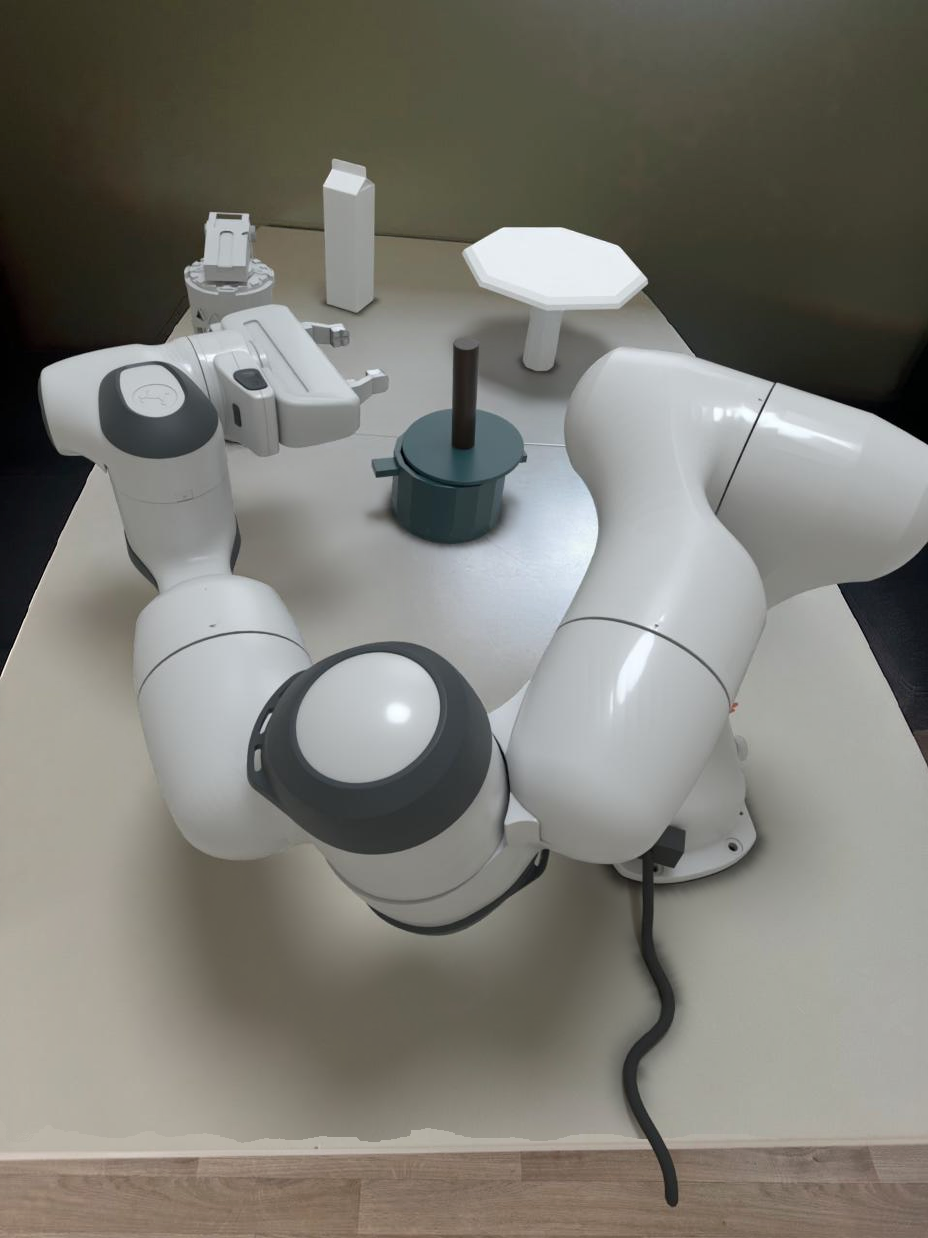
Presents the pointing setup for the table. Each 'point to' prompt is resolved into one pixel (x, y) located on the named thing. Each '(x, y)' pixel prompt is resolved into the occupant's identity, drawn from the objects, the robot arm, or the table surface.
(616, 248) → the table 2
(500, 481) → the pot
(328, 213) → the milk
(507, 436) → the lid
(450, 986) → the table surface
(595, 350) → the table surface
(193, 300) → the lantern
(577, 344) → the table surface
